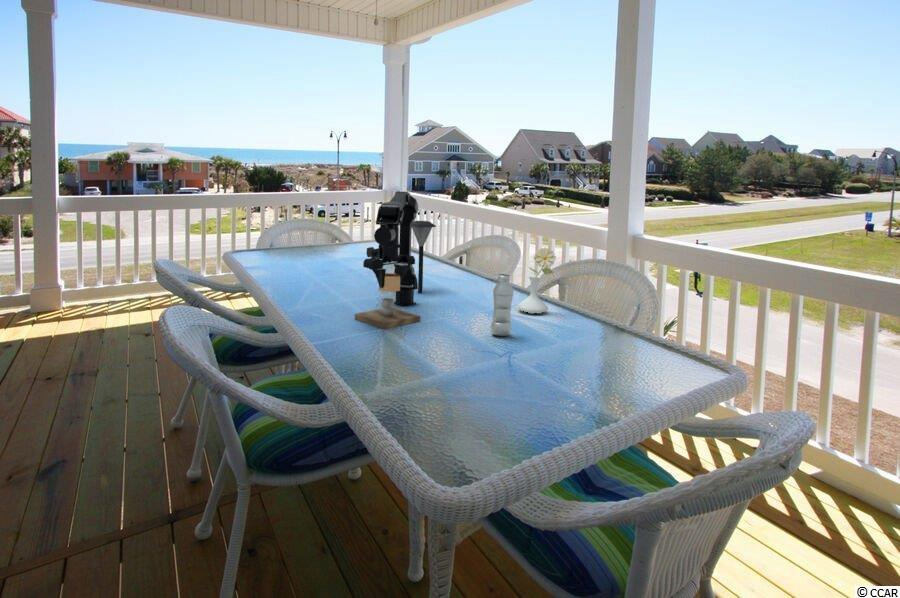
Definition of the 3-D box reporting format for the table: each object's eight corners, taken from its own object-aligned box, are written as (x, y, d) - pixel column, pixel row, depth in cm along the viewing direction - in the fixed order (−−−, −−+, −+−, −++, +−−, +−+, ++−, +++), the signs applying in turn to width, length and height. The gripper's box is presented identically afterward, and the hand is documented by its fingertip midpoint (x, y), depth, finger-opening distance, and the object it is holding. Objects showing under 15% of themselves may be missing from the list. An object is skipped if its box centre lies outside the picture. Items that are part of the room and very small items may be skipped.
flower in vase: (513, 313, 225) (517, 247, 220) (522, 307, 236) (526, 243, 230) (548, 318, 221) (553, 250, 215) (555, 311, 231) (560, 246, 225)
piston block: (390, 312, 221) (390, 292, 219) (420, 321, 210) (420, 300, 208) (354, 319, 210) (354, 298, 208) (384, 329, 199) (384, 307, 197)
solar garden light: (402, 294, 250) (403, 222, 243) (409, 289, 262) (410, 219, 255) (431, 297, 248) (433, 223, 241) (437, 290, 260) (439, 220, 253)
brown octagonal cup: (390, 286, 212) (391, 272, 211) (404, 289, 207) (404, 275, 206) (375, 289, 207) (375, 274, 206) (388, 292, 202) (388, 277, 201)
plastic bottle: (488, 332, 199) (491, 272, 195) (509, 332, 200) (512, 273, 195) (491, 338, 193) (494, 276, 188) (512, 338, 193) (516, 277, 189)
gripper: (395, 236, 216) (394, 279, 219) (353, 240, 202) (353, 286, 206) (416, 240, 208) (415, 284, 212) (374, 244, 195) (373, 291, 198)
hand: (389, 286), depth 207 cm, fingers closed on brown octagonal cup, 7 cm apart
